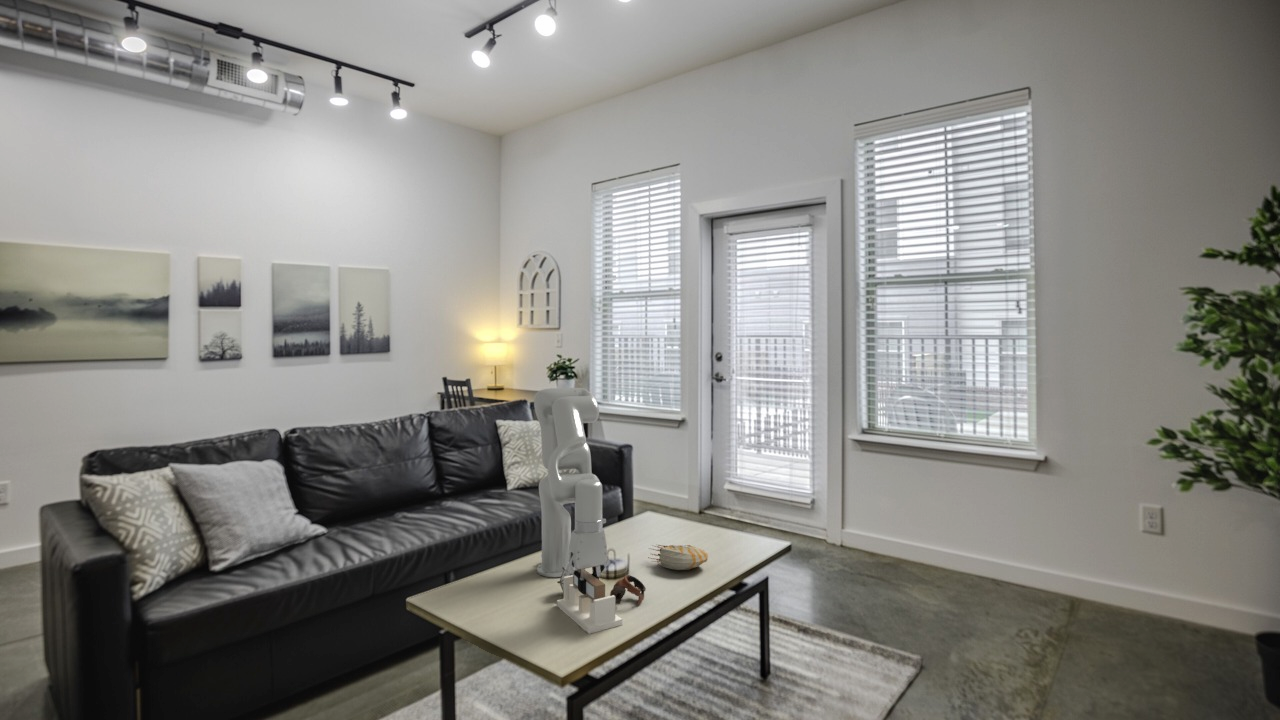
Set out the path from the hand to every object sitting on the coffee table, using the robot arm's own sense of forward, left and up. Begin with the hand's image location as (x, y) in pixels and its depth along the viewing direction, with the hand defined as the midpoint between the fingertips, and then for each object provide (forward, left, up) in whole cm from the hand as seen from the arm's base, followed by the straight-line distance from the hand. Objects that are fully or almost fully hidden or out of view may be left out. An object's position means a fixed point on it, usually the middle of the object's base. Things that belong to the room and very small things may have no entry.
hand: (588, 590), depth 173 cm
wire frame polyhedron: (-15, +2, -7) cm, 17 cm away
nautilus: (-18, +42, -7) cm, 46 cm away
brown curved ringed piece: (-2, +13, -7) cm, 15 cm away
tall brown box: (0, 0, -1) cm, 1 cm away
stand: (0, 0, -7) cm, 7 cm away
